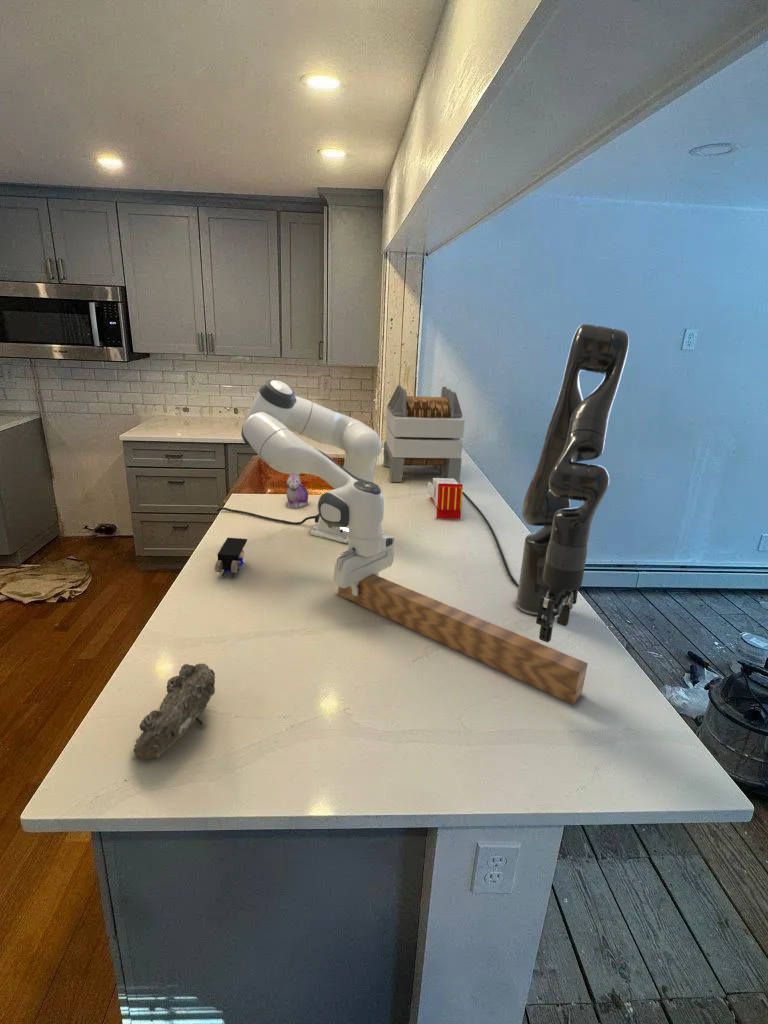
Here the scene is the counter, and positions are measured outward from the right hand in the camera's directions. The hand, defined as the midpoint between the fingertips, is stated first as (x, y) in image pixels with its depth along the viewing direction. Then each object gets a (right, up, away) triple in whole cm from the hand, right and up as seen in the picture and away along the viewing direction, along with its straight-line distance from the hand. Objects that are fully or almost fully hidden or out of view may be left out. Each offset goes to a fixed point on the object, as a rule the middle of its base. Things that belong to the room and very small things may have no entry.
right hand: (553, 632), depth 118 cm
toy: (-11, +27, +111) cm, 115 cm away
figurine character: (-80, +8, +50) cm, 95 cm away
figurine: (-69, +28, +106) cm, 130 cm away
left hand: (-41, +4, +35) cm, 54 cm away
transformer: (-18, +44, +157) cm, 164 cm away
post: (-21, -6, +20) cm, 29 cm away
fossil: (-73, -15, -11) cm, 75 cm away
